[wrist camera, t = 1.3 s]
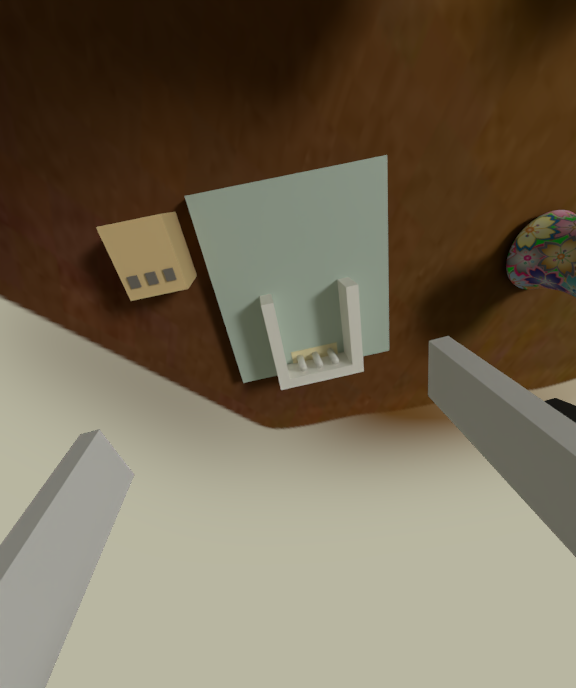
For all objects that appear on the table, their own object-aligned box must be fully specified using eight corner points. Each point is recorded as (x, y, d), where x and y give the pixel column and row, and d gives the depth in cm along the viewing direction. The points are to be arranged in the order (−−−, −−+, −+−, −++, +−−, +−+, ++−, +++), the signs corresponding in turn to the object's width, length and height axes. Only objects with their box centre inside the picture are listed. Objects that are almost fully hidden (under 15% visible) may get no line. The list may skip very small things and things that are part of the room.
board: (187, 196, 25) (176, 195, 21) (380, 157, 26) (404, 149, 22) (243, 376, 35) (242, 398, 31) (383, 344, 35) (401, 363, 31)
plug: (122, 222, 26) (94, 227, 21) (175, 211, 26) (160, 213, 21) (148, 285, 28) (130, 301, 24) (197, 275, 29) (187, 289, 24)
